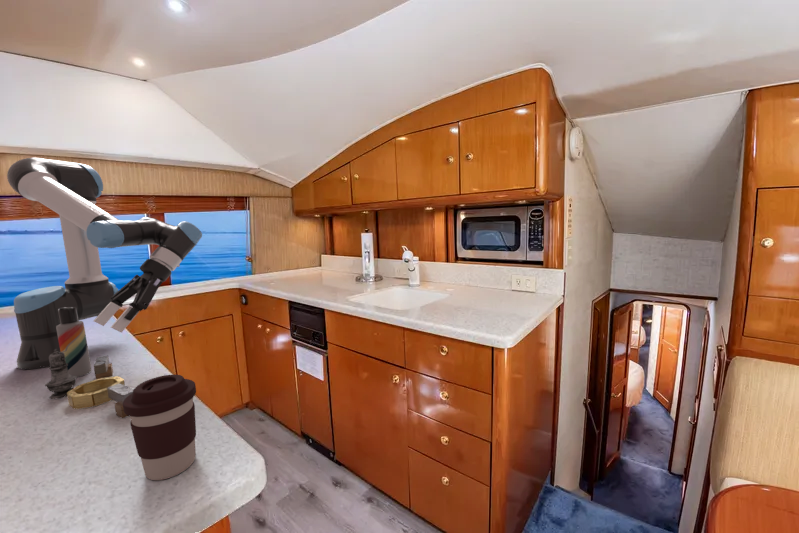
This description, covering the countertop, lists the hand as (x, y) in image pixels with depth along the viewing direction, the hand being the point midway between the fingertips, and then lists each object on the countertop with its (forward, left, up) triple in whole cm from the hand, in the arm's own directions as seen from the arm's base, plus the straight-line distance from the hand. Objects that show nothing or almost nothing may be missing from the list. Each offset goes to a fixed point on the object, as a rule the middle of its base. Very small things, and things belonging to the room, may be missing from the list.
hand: (106, 326), depth 95 cm
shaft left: (-2, -2, -15) cm, 15 cm away
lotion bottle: (-13, -5, -15) cm, 20 cm away
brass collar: (+11, -7, -15) cm, 19 cm away
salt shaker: (0, -11, -15) cm, 18 cm away
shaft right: (+25, -6, -15) cm, 29 cm away
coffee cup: (+55, -9, -15) cm, 58 cm away
